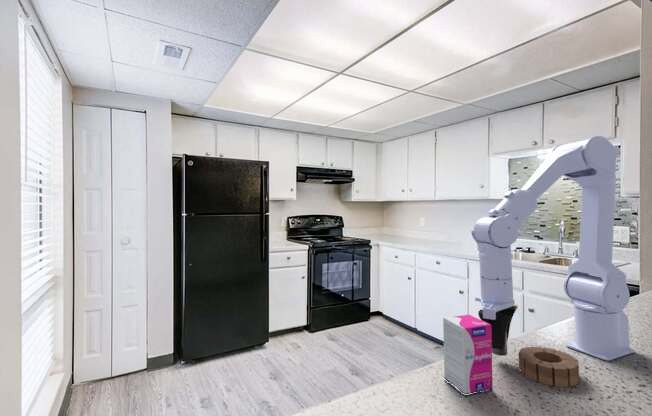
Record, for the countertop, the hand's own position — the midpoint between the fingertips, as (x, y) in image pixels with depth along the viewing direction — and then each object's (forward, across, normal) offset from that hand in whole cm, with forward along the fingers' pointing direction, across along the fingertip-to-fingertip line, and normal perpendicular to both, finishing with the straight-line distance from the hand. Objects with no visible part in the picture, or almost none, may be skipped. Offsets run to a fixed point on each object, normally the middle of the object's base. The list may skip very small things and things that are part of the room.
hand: (499, 345), depth 65 cm
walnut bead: (+3, 0, +8) cm, 9 cm away
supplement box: (+3, +12, -3) cm, 13 cm away
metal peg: (+1, 0, 0) cm, 1 cm away
